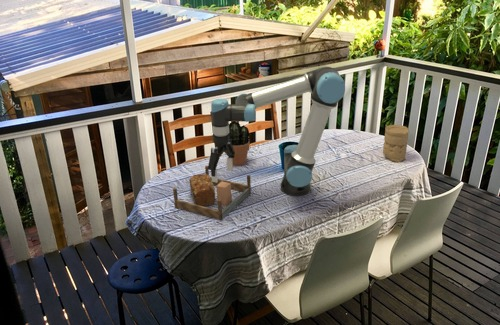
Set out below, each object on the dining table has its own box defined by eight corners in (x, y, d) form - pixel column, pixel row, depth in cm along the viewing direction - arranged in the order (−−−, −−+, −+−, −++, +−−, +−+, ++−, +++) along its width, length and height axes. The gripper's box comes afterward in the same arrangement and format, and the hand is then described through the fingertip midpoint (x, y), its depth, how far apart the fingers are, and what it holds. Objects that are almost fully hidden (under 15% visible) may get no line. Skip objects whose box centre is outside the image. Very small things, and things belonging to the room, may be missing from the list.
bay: (250, 193, 225) (250, 175, 221) (221, 220, 203) (219, 200, 198) (207, 182, 236) (206, 165, 232) (175, 207, 214) (173, 188, 210)
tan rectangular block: (231, 201, 218) (230, 183, 213) (226, 206, 214) (225, 187, 210) (222, 199, 220) (221, 181, 216) (217, 204, 216) (216, 185, 212)
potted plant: (241, 169, 250) (240, 127, 239) (221, 164, 257) (219, 123, 246) (254, 160, 260) (253, 119, 250) (235, 155, 267) (233, 115, 256)
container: (407, 156, 261) (411, 127, 253) (401, 164, 251) (405, 134, 244) (386, 152, 267) (389, 123, 259) (379, 159, 257) (382, 130, 250)
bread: (216, 205, 215) (215, 186, 211) (194, 208, 213) (192, 189, 209) (210, 187, 232) (209, 170, 228) (189, 190, 230) (188, 172, 226)
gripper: (227, 123, 213) (229, 164, 222) (198, 141, 193) (200, 185, 202) (241, 126, 210) (242, 167, 219) (212, 144, 190) (215, 188, 199)
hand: (222, 175), depth 211 cm, fingers open, 13 cm apart
